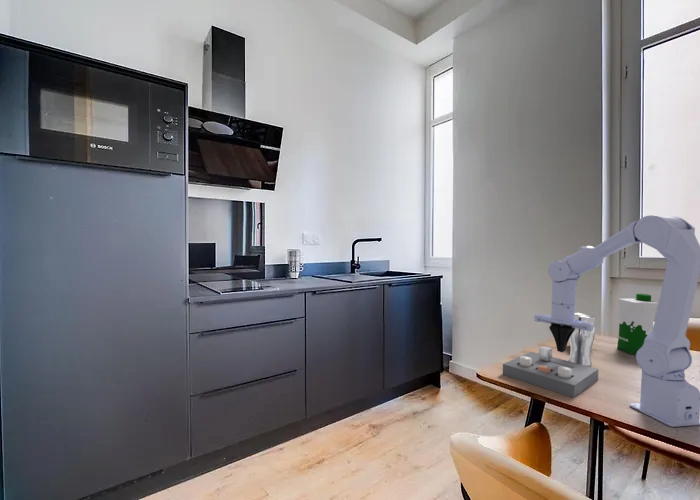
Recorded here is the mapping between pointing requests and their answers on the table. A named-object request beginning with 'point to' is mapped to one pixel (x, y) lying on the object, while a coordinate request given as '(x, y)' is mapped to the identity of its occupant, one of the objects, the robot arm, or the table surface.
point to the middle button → (544, 369)
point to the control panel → (552, 374)
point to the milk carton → (635, 322)
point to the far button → (525, 361)
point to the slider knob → (545, 353)
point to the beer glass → (582, 341)
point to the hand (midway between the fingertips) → (561, 351)
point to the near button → (564, 372)
